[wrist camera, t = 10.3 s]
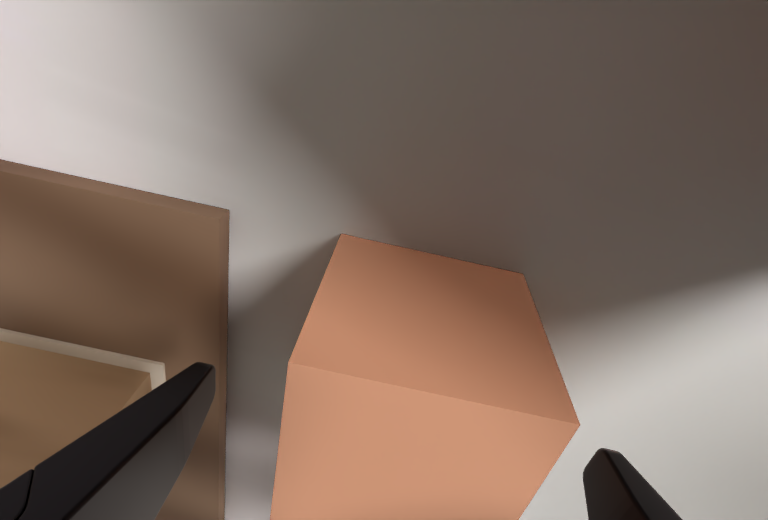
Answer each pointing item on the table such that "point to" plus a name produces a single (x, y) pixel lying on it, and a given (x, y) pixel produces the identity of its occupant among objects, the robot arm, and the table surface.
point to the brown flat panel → (122, 294)
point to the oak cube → (55, 402)
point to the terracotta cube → (418, 393)
